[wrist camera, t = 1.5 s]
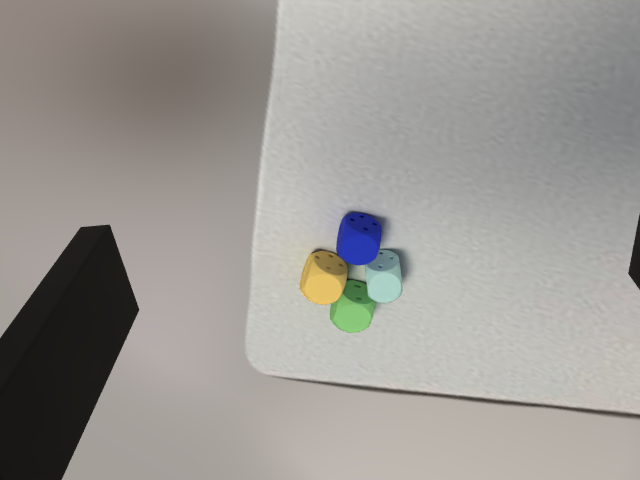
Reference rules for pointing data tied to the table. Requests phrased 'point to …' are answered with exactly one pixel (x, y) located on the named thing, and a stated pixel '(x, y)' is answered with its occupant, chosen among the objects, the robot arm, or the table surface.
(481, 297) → the table surface
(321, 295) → the dice
